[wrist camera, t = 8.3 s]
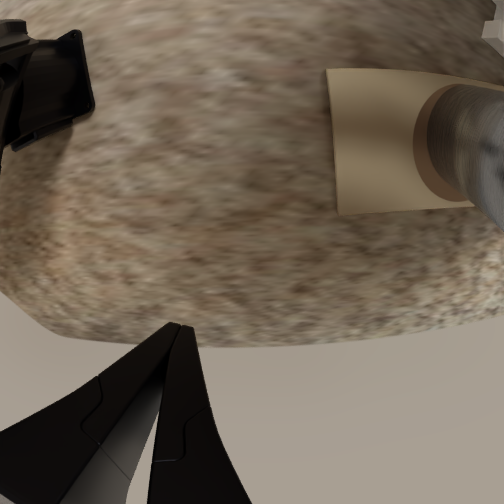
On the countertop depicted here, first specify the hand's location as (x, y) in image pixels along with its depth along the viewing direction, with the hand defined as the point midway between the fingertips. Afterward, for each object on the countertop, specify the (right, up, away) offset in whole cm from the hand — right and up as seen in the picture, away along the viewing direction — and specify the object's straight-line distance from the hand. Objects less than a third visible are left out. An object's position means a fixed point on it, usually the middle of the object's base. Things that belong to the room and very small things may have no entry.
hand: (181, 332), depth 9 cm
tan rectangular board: (+14, +10, +7) cm, 19 cm away
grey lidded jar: (+17, +10, +5) cm, 21 cm away
